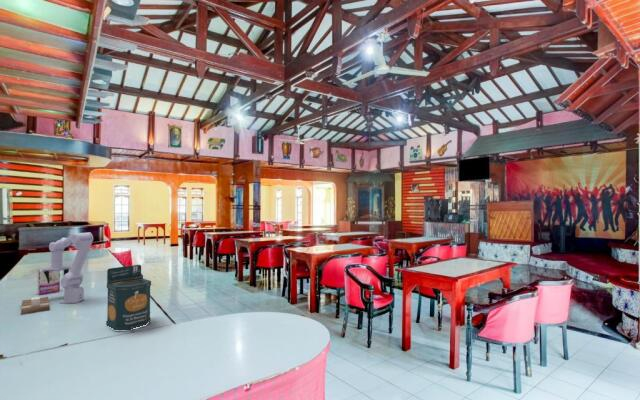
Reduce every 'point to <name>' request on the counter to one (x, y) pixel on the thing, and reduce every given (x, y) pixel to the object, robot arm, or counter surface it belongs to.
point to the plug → (35, 301)
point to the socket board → (28, 309)
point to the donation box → (127, 298)
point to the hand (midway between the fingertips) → (56, 282)
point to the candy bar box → (48, 287)
